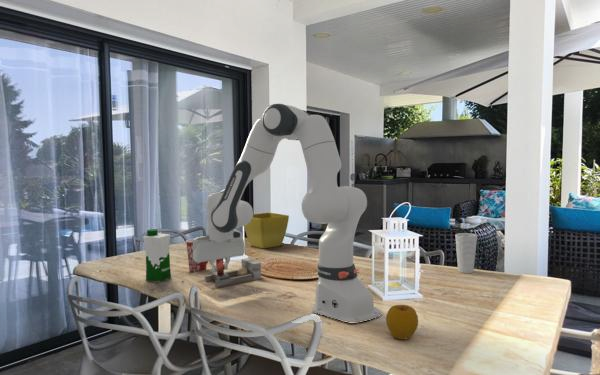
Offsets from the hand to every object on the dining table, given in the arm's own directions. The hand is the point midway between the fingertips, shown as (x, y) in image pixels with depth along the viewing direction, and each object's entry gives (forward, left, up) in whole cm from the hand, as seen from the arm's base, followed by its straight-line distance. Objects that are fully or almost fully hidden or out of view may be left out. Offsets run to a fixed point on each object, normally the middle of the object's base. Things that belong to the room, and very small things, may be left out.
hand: (220, 270), depth 166 cm
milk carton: (+25, +16, -6) cm, 30 cm away
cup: (-47, -88, -6) cm, 100 cm away
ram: (0, 0, -4) cm, 4 cm away
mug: (+25, -2, -6) cm, 26 cm away
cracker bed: (0, -4, -6) cm, 8 cm away
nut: (0, -10, -5) cm, 11 cm away
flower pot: (+52, -52, -6) cm, 74 cm away
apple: (-74, -17, -6) cm, 76 cm away
